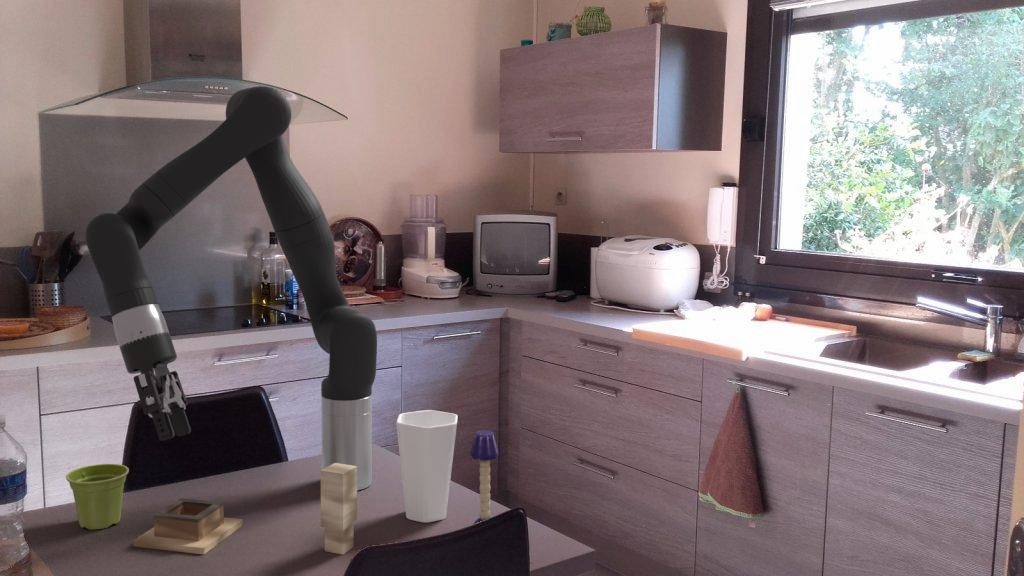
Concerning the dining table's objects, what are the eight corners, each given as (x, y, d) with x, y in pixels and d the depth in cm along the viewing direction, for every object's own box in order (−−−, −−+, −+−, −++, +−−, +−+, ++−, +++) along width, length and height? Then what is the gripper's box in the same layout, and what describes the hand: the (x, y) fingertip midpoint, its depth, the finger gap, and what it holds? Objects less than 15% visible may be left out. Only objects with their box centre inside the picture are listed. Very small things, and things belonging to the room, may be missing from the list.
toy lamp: (493, 536, 146) (495, 437, 144) (466, 534, 147) (467, 434, 145) (500, 525, 151) (502, 428, 149) (473, 523, 152) (474, 426, 150)
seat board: (177, 518, 151) (176, 492, 151) (242, 525, 149) (242, 498, 148) (133, 546, 140) (132, 518, 139) (204, 554, 137) (203, 526, 137)
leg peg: (335, 542, 143) (334, 462, 141) (357, 546, 141) (357, 466, 140) (321, 551, 139) (320, 470, 138) (343, 556, 138) (343, 474, 136)
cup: (469, 511, 157) (471, 416, 155) (437, 531, 148) (439, 430, 146) (416, 499, 162) (417, 407, 160) (382, 518, 153) (382, 420, 151)
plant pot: (65, 537, 143) (63, 484, 142) (70, 516, 151) (68, 466, 150) (129, 530, 146) (128, 478, 145) (131, 510, 155) (129, 461, 154)
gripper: (152, 328, 134) (186, 432, 133) (181, 331, 148) (211, 425, 147) (103, 345, 133) (137, 449, 132) (136, 347, 148) (167, 441, 147)
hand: (176, 436), depth 140 cm, fingers open, 8 cm apart
